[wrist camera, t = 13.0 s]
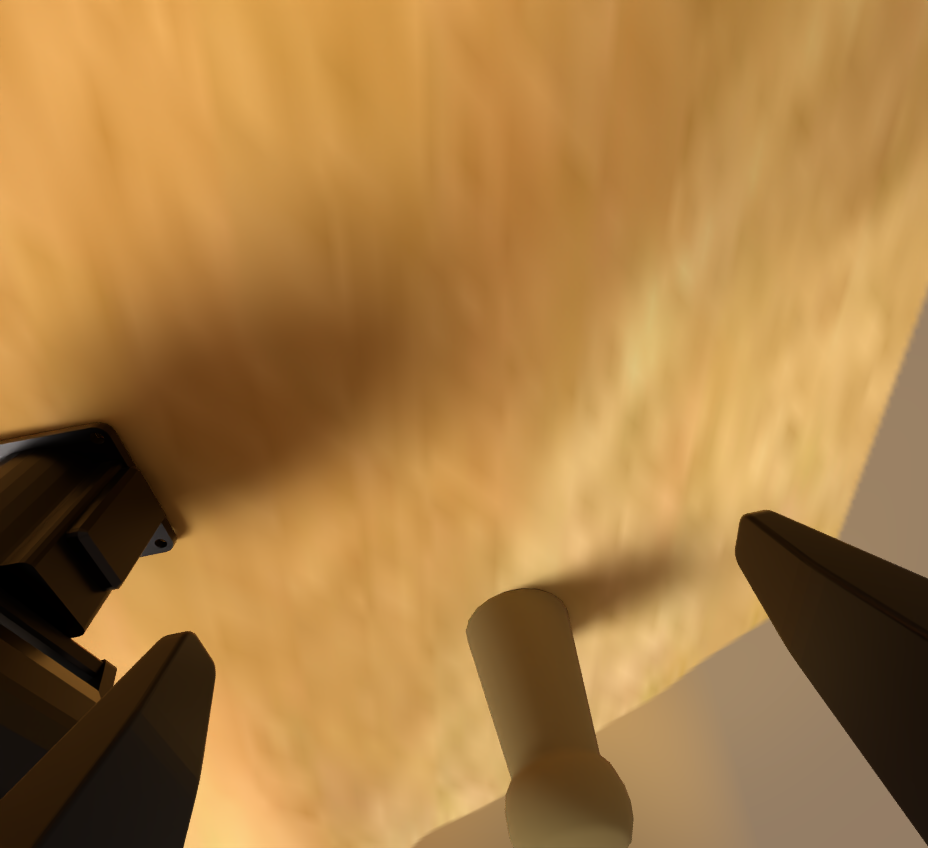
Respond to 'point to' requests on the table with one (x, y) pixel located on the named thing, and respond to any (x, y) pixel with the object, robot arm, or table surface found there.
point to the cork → (546, 726)
